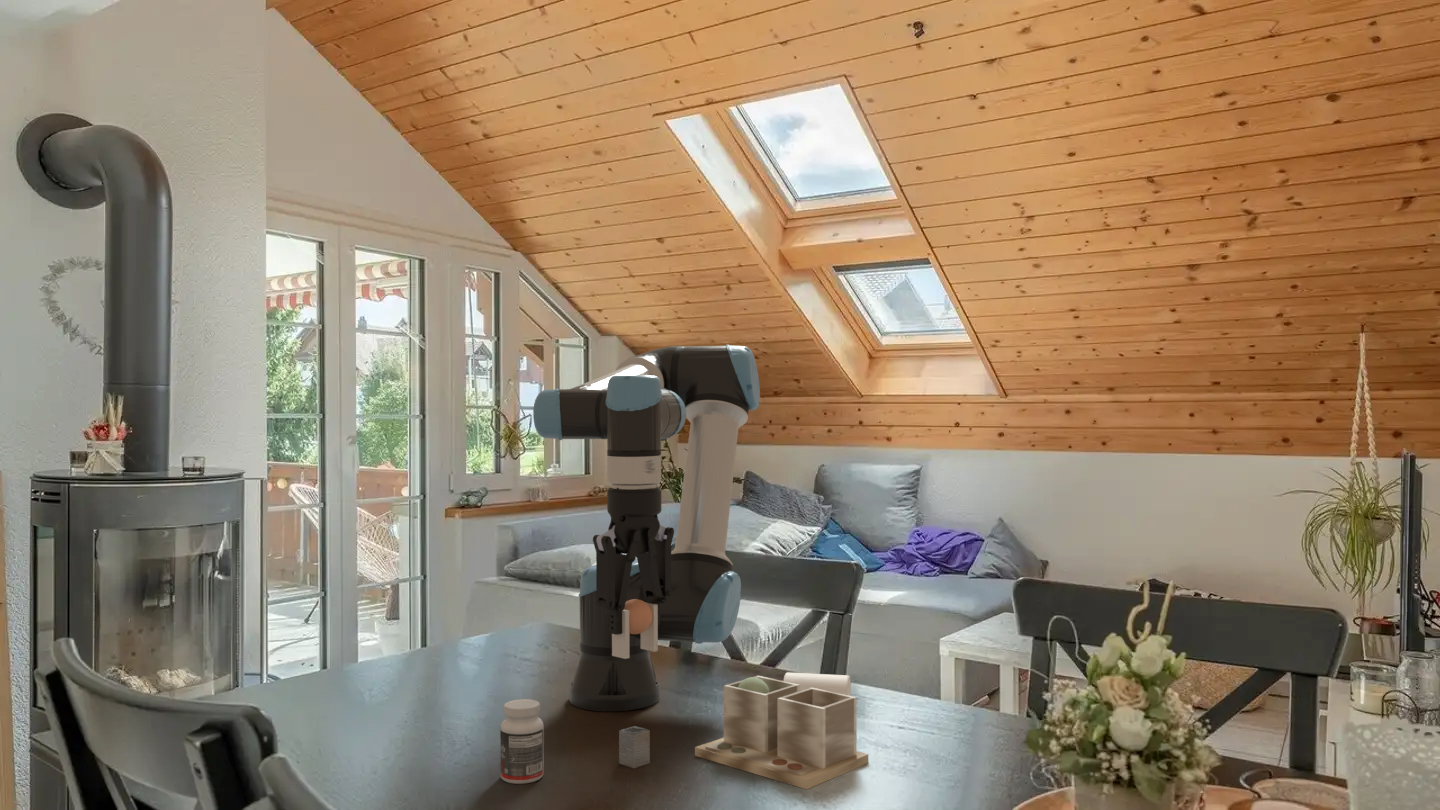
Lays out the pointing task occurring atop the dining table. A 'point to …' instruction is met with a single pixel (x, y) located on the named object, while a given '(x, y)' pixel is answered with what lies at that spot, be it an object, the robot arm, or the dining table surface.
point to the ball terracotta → (638, 616)
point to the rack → (787, 733)
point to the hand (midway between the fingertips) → (635, 652)
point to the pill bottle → (522, 742)
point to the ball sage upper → (754, 685)
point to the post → (634, 746)
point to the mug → (821, 682)
